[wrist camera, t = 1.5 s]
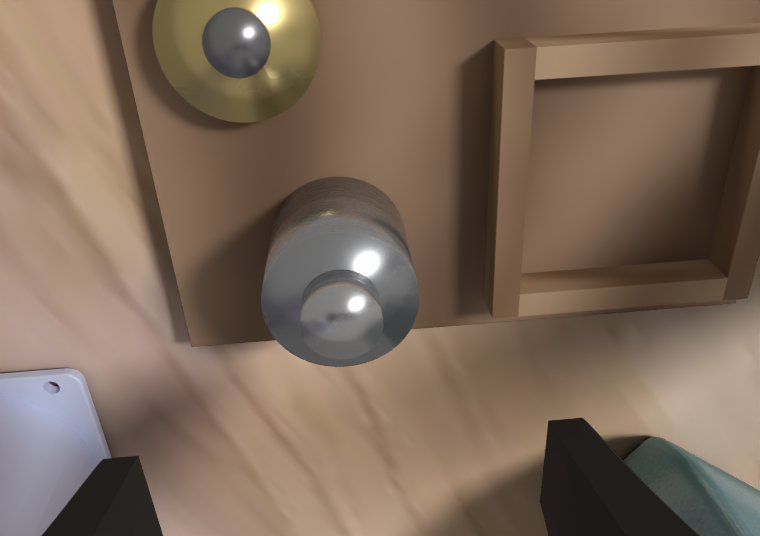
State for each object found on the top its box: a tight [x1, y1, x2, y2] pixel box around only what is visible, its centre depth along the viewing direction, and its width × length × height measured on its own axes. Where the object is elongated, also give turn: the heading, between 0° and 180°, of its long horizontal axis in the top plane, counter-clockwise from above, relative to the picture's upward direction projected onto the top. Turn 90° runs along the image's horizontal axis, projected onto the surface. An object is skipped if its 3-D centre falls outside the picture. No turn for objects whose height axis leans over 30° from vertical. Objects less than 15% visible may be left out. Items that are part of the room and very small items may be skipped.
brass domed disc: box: [152, 0, 321, 123], centre depth 17 cm, size 4×4×1 cm
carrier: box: [112, 0, 760, 347], centre depth 19 cm, size 18×12×2 cm, turn 92°
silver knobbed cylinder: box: [261, 177, 419, 367], centre depth 18 cm, size 4×4×5 cm
